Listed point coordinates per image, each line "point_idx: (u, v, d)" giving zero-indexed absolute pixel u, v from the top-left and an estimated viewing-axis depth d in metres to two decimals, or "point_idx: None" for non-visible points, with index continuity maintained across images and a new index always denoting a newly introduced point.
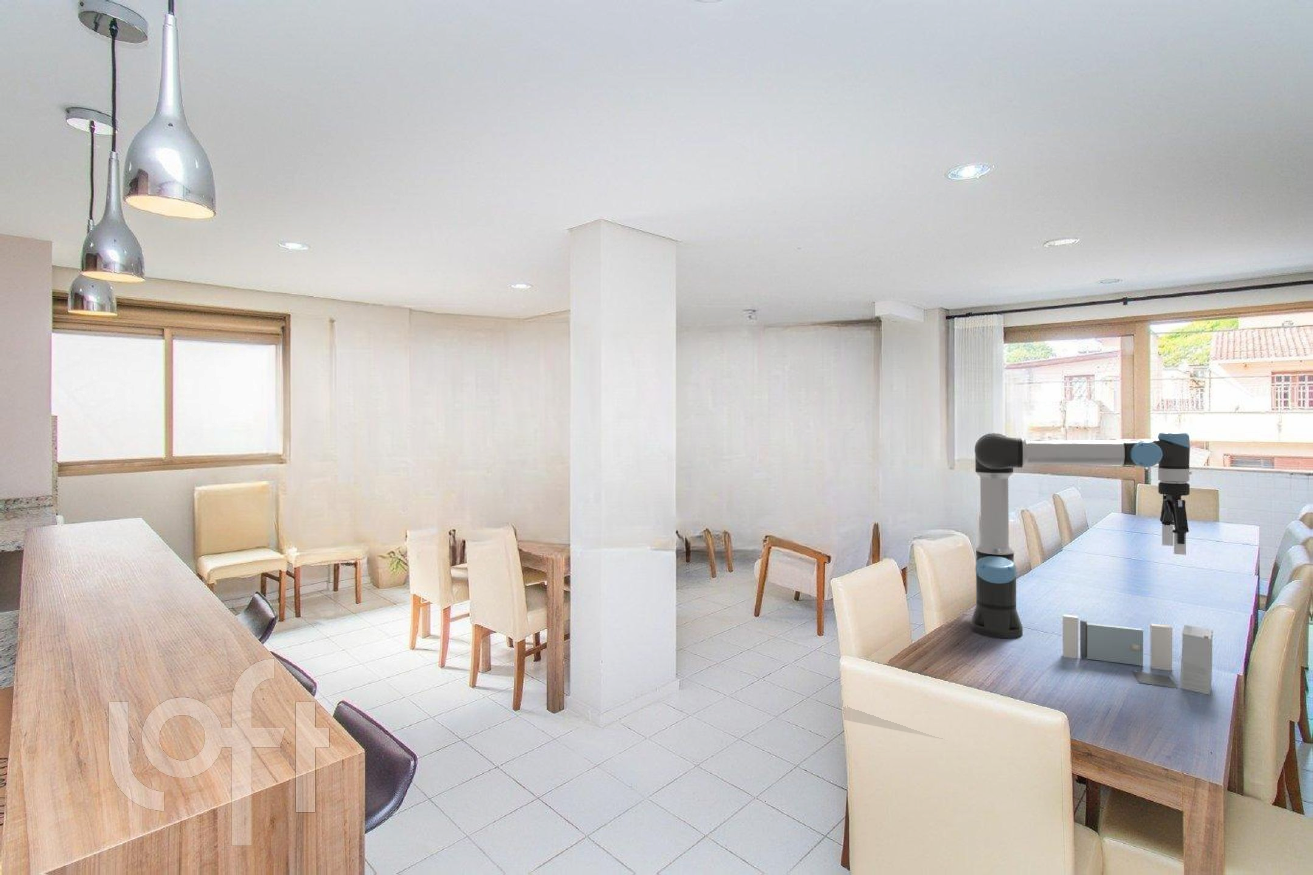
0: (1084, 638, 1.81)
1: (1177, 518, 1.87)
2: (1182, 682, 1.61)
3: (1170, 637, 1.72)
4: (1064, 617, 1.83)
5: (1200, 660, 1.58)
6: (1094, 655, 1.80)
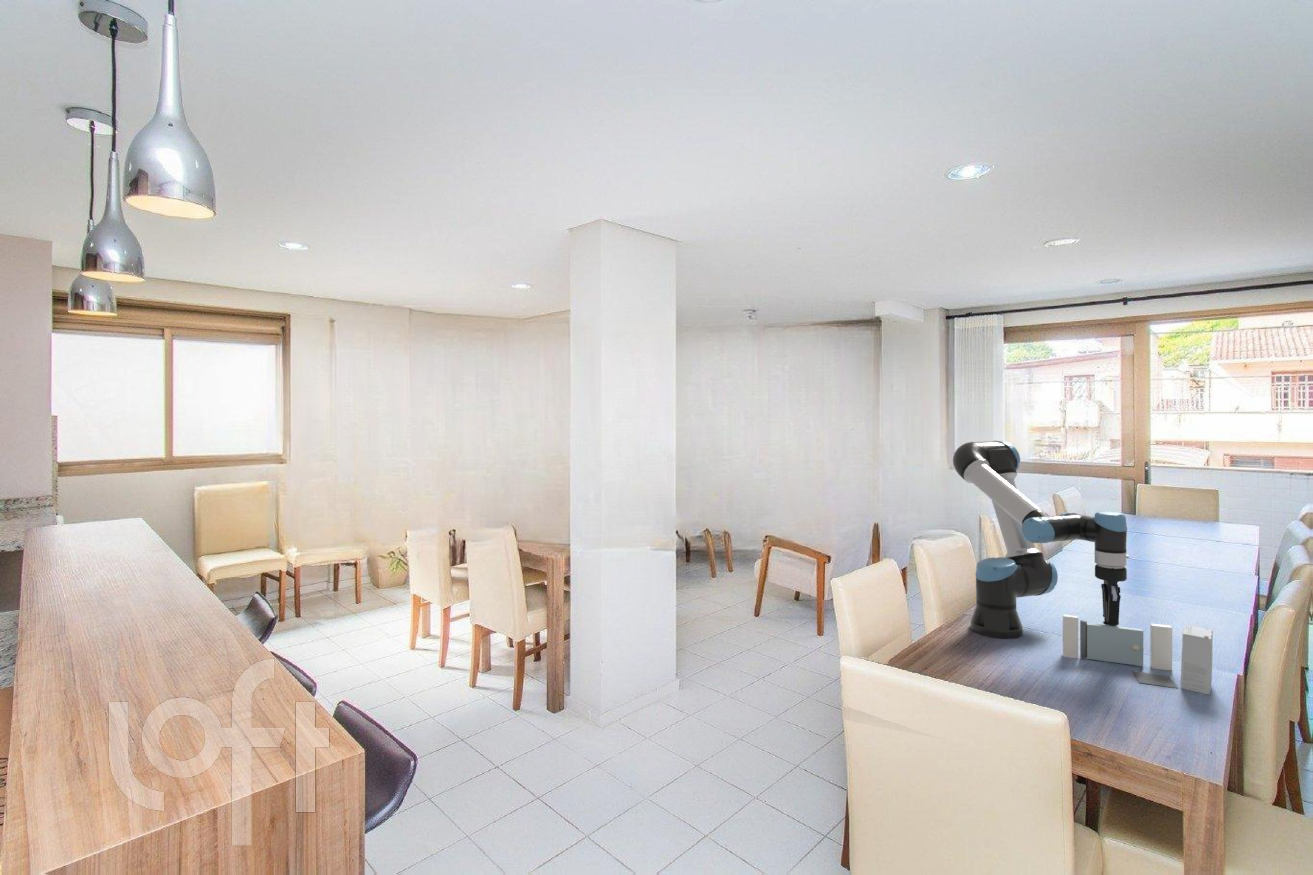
0: (1084, 638, 1.81)
1: (1109, 612, 1.78)
2: (1182, 682, 1.61)
3: (1170, 637, 1.72)
4: (1064, 617, 1.83)
5: (1200, 660, 1.58)
6: (1094, 655, 1.80)
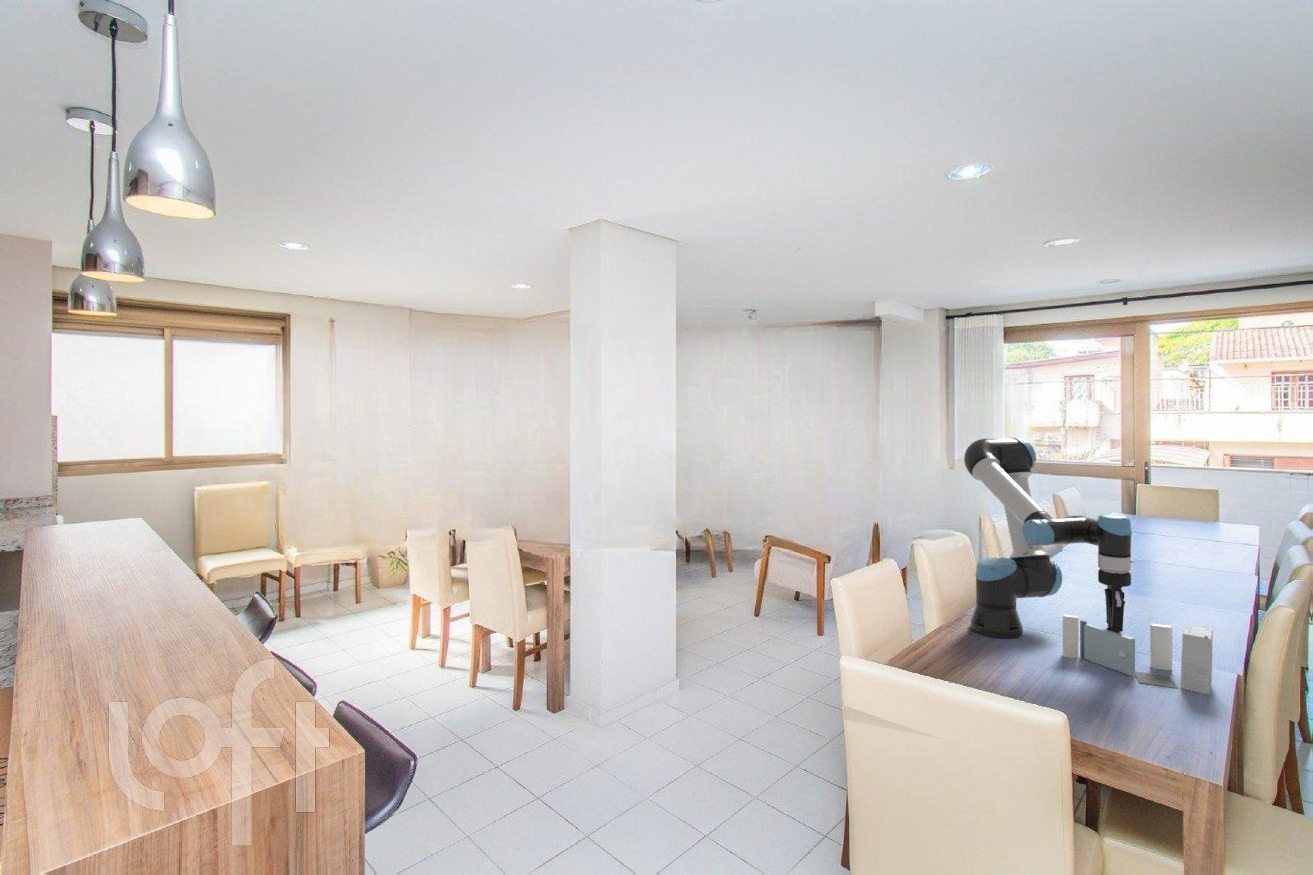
0: (1082, 638, 1.82)
1: (1113, 618, 1.73)
2: (1182, 682, 1.61)
3: (1170, 637, 1.72)
4: (1064, 617, 1.83)
5: (1200, 660, 1.58)
6: (1090, 656, 1.79)
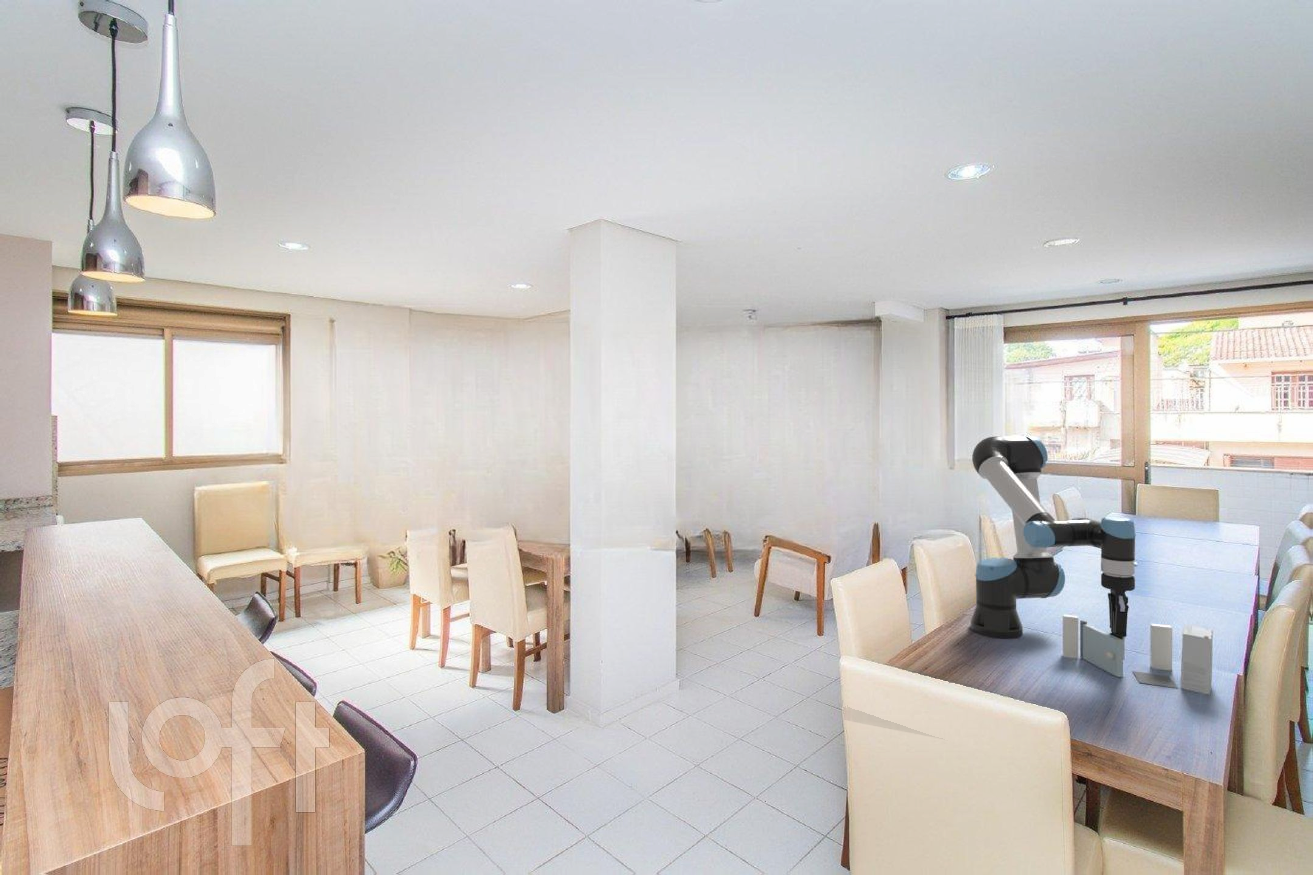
0: (1081, 637, 1.82)
1: (1116, 623, 1.69)
2: (1182, 682, 1.61)
3: (1170, 637, 1.72)
4: (1064, 617, 1.83)
5: (1200, 660, 1.58)
6: (1087, 656, 1.79)
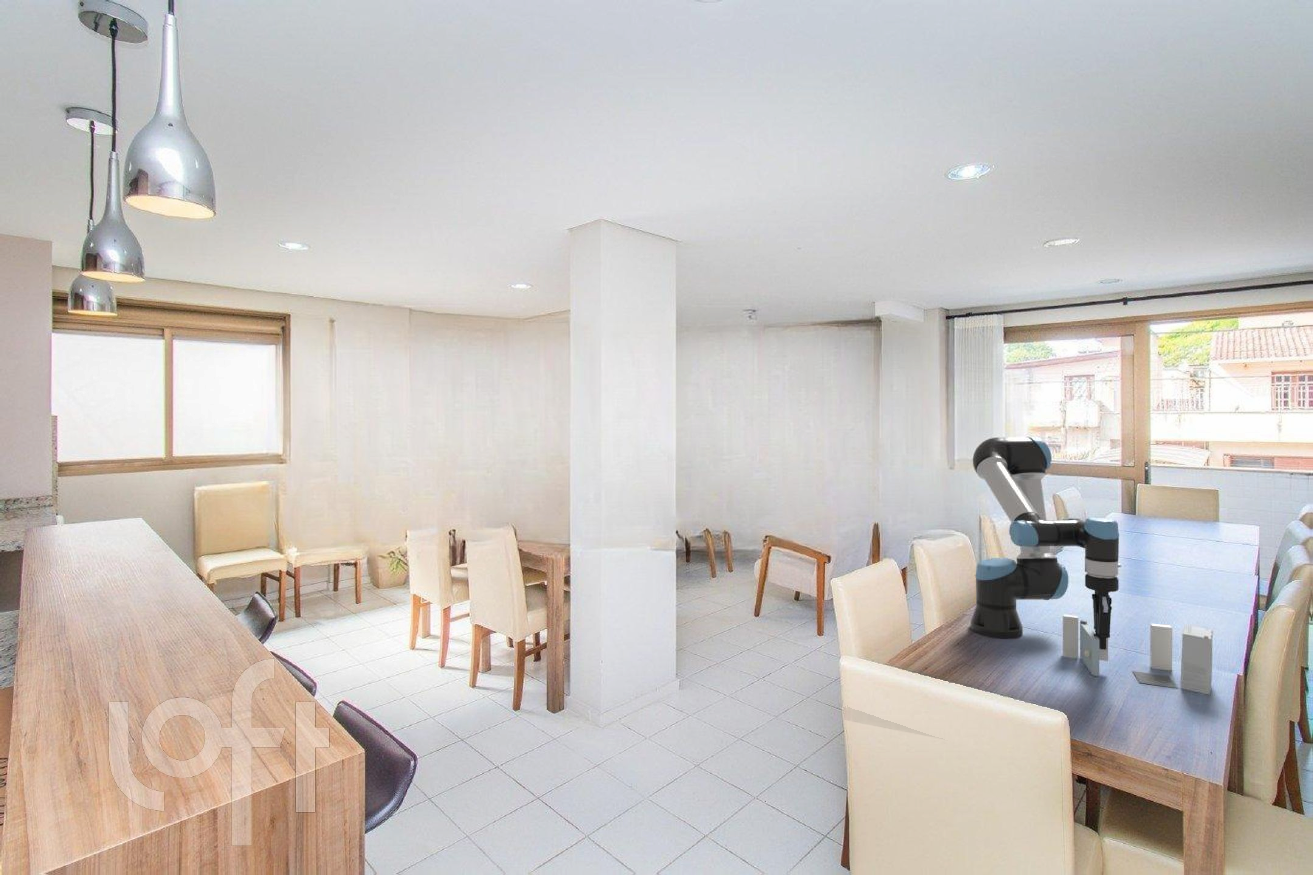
0: (1080, 637, 1.82)
1: (1100, 624, 1.69)
2: (1182, 682, 1.61)
3: (1170, 637, 1.72)
4: (1064, 617, 1.83)
5: (1200, 660, 1.58)
6: (1082, 655, 1.80)
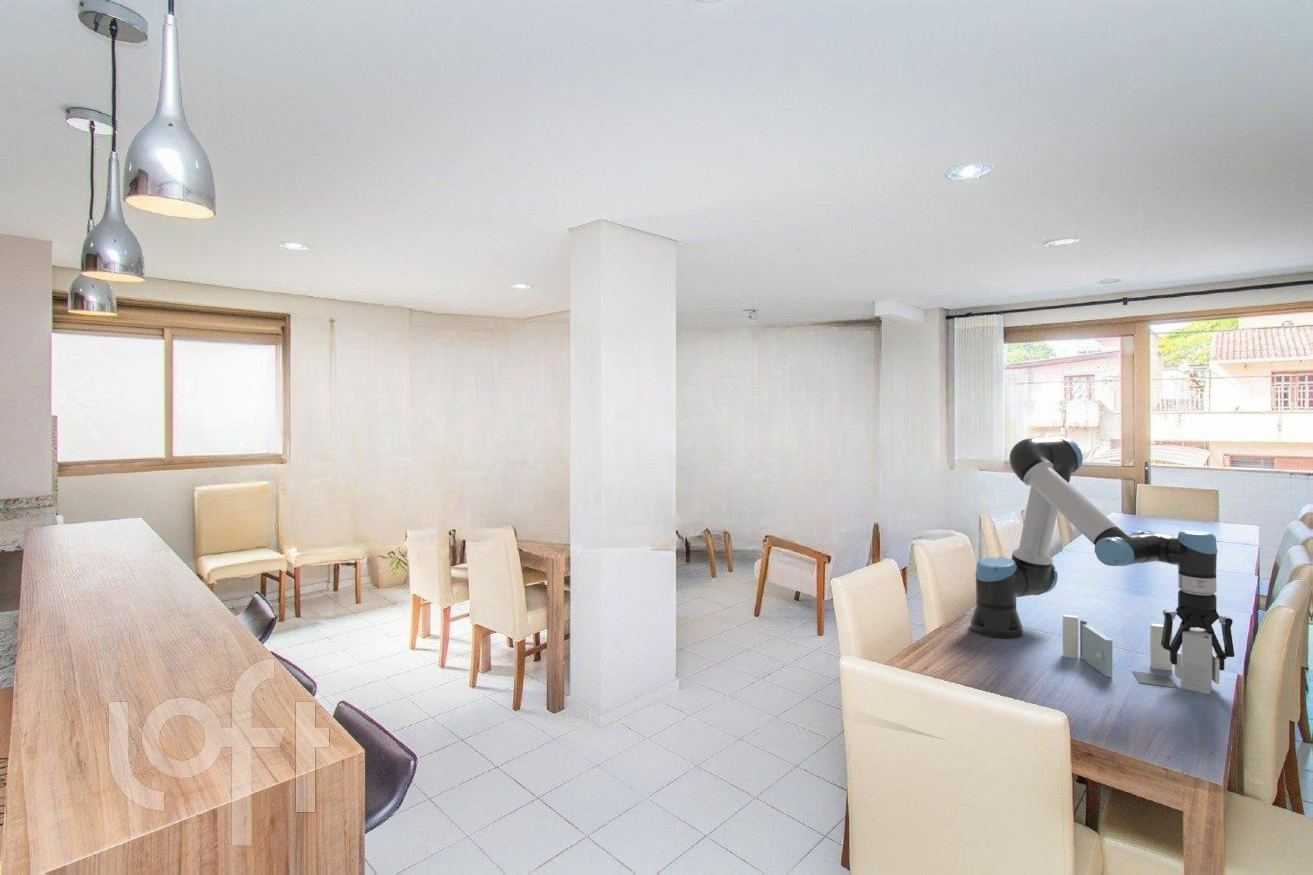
0: (1080, 637, 1.82)
1: None
2: (1182, 682, 1.61)
3: None
4: (1064, 617, 1.83)
5: (1200, 659, 1.58)
6: (1085, 656, 1.80)
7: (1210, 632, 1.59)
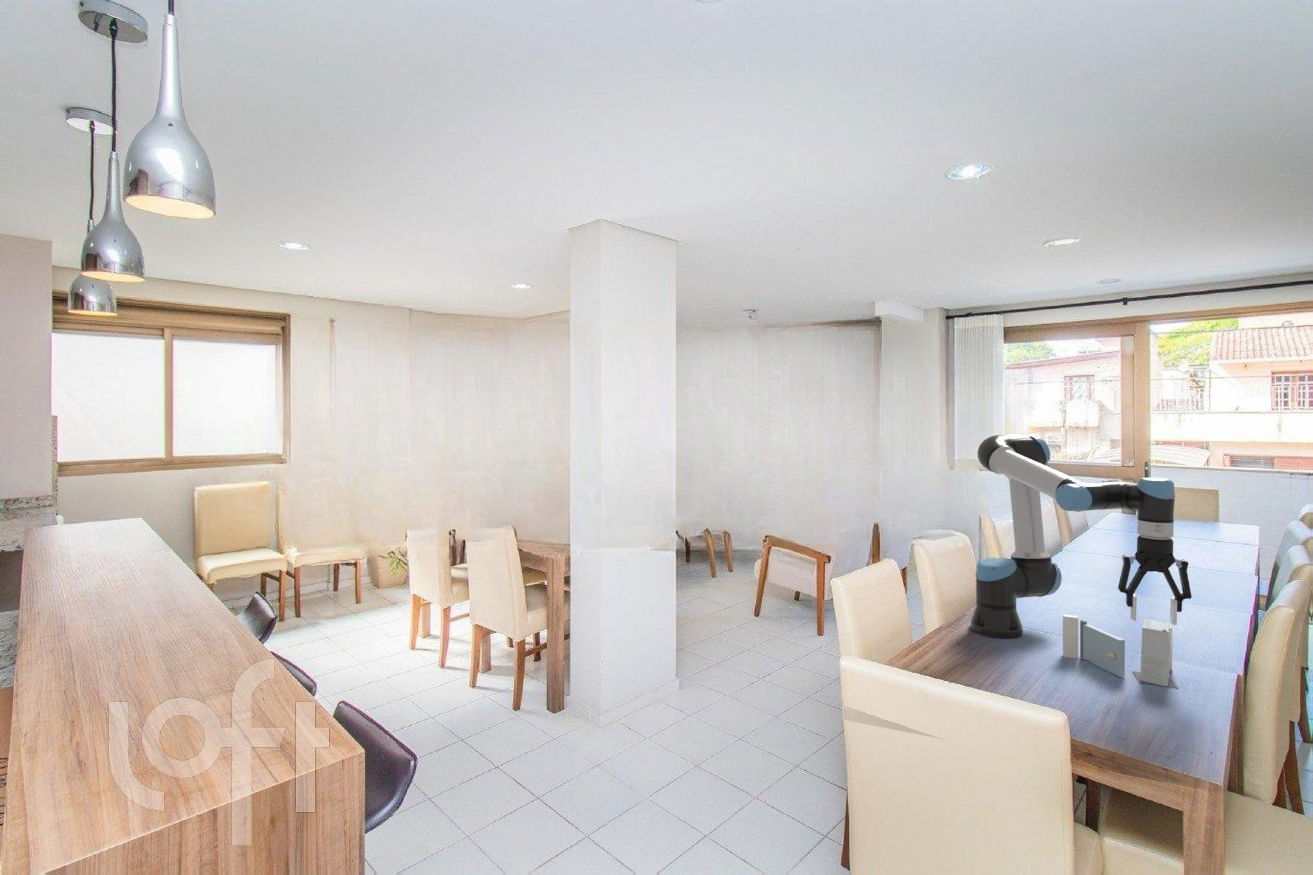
0: (1081, 637, 1.82)
1: None
2: (1142, 675, 1.65)
3: (1170, 637, 1.72)
4: (1064, 617, 1.83)
5: (1159, 652, 1.63)
6: (1087, 656, 1.79)
7: (1167, 575, 1.63)
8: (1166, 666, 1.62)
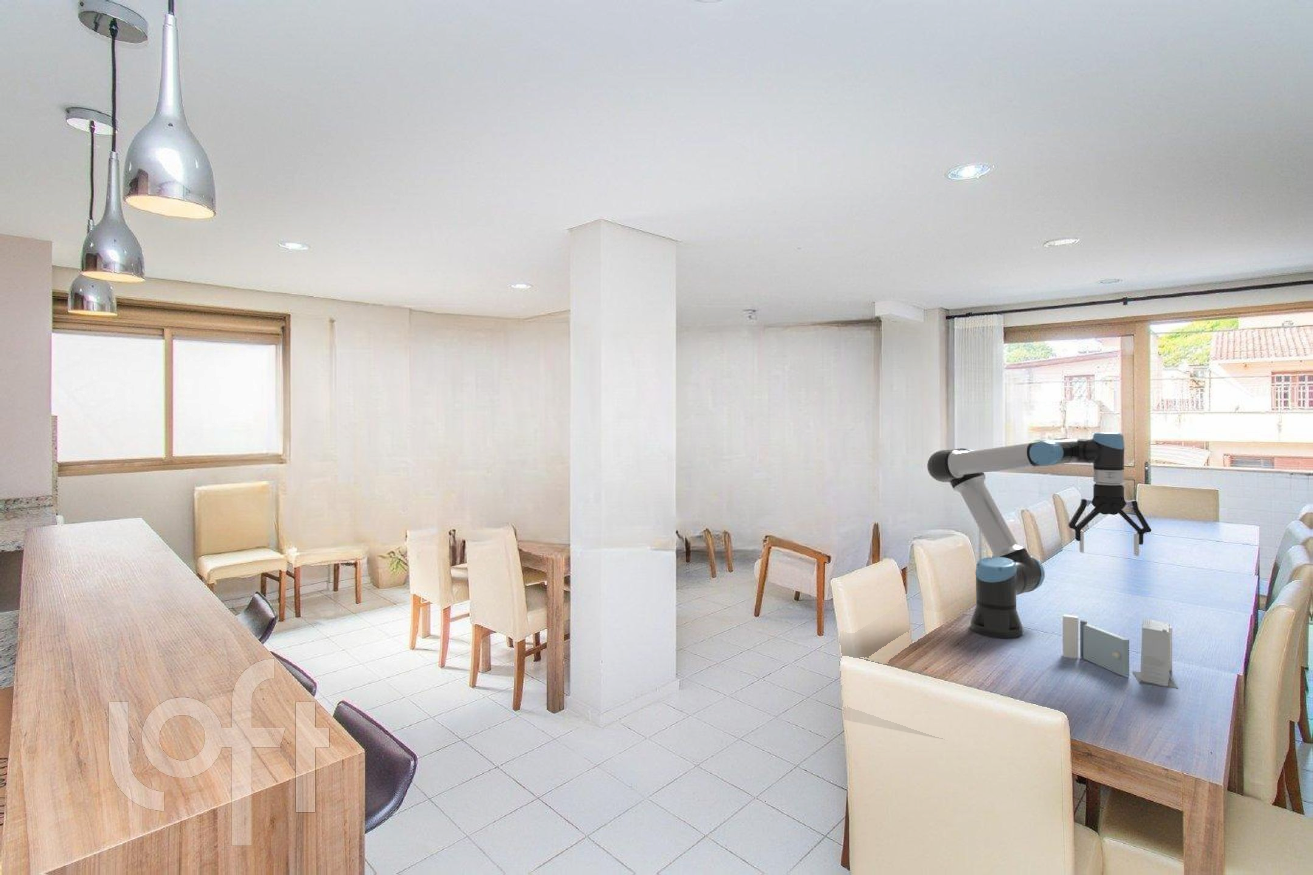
0: (1081, 637, 1.82)
1: None
2: (1142, 675, 1.65)
3: (1170, 637, 1.72)
4: (1064, 617, 1.83)
5: (1159, 652, 1.63)
6: (1088, 656, 1.79)
7: (1123, 515, 1.86)
8: (1166, 666, 1.62)
